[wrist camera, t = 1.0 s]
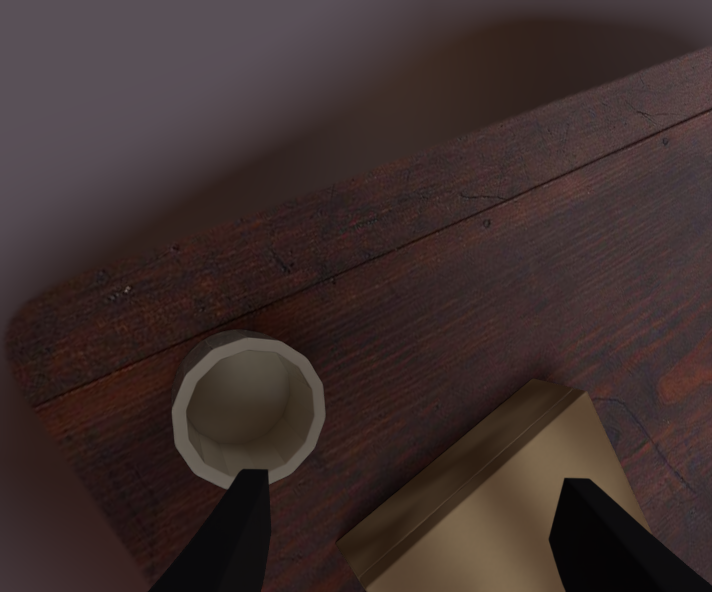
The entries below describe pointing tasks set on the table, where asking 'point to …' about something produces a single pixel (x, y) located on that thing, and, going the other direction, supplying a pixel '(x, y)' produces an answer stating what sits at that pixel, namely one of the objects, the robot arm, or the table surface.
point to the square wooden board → (490, 501)
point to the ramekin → (245, 407)
